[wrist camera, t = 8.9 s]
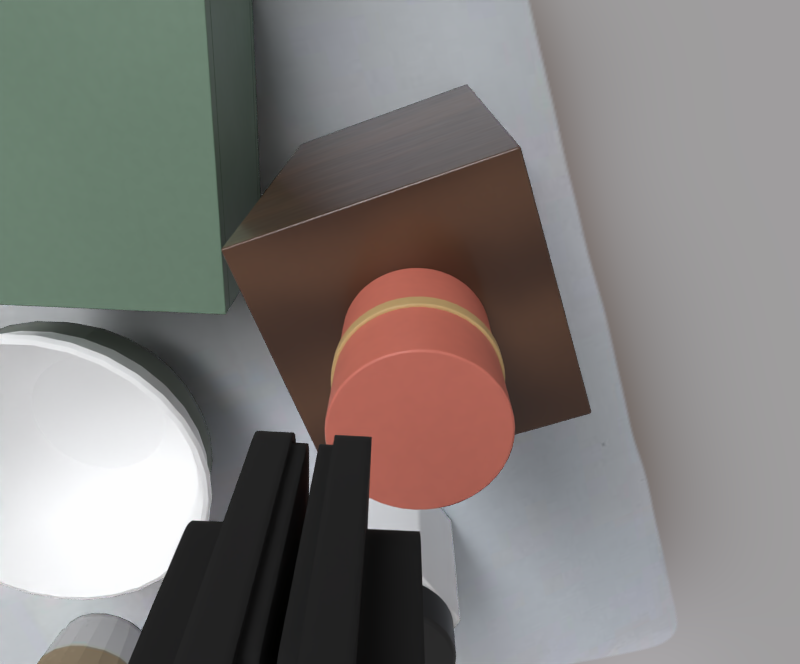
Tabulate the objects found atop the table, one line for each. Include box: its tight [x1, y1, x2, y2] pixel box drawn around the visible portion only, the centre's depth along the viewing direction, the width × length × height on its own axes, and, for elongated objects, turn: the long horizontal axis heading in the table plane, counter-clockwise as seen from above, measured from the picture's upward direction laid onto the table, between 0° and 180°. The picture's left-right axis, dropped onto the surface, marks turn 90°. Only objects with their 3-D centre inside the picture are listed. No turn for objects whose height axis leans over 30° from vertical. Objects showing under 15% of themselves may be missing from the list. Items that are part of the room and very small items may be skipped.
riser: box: [221, 85, 591, 452], centre depth 32 cm, size 10×10×19 cm
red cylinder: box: [325, 268, 515, 510], centre depth 21 cm, size 5×5×6 cm
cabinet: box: [0, 0, 261, 315], centre depth 34 cm, size 15×13×10 cm
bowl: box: [0, 321, 213, 600], centre depth 43 cm, size 19×19×8 cm
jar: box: [368, 498, 460, 664], centre depth 46 cm, size 9×8×12 cm
